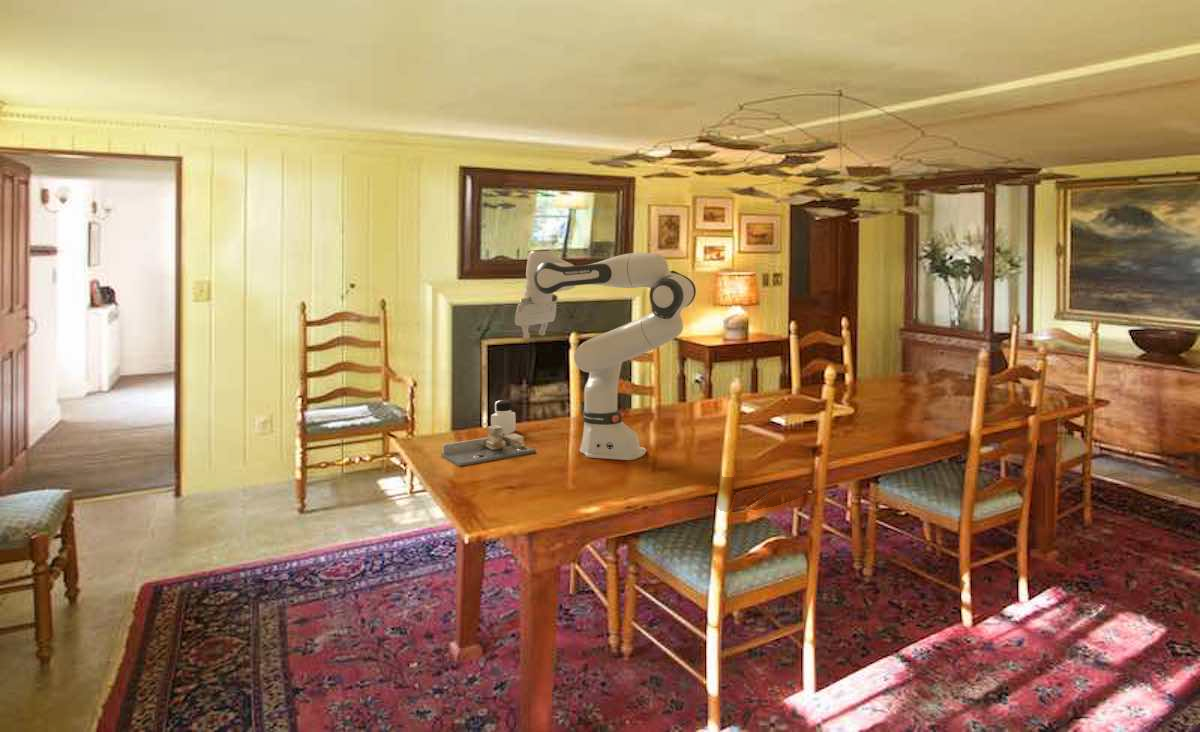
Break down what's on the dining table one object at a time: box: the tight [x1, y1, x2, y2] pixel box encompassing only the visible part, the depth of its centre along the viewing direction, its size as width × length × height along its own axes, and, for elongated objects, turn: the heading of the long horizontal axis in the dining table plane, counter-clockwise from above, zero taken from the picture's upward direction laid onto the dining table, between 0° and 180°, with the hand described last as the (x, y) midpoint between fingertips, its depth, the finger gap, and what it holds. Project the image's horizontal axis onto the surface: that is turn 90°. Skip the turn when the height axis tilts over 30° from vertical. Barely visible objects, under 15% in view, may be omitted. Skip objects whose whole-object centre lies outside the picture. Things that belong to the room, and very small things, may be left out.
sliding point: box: [486, 425, 506, 451], centre depth 252 cm, size 5×10×7 cm, turn 35°
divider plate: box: [440, 432, 537, 467], centre depth 249 cm, size 28×14×4 cm, turn 125°
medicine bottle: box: [490, 399, 517, 434], centre depth 279 cm, size 7×7×12 cm
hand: (534, 336), depth 258 cm, fingers open, 8 cm apart
